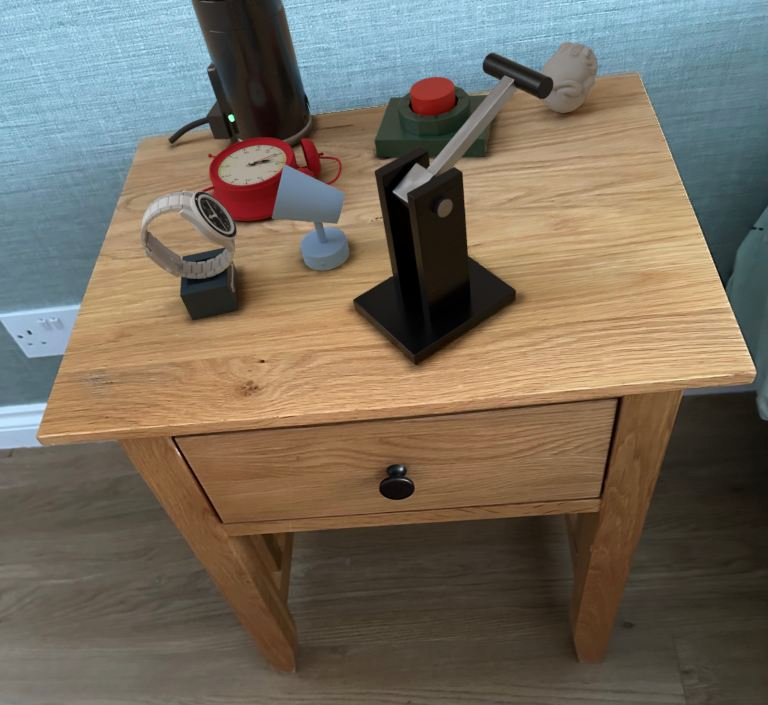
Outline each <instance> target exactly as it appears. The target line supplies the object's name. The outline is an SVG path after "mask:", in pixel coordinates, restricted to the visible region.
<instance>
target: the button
mask: <svg viewBox="0 0 768 705" xmlns="http://www.w3.org/2000/svg"><path fill="white" fill-rule="evenodd" d="M455 86H456V85H455V83H454V82H453V81H452V80H451V79H450V78H446V77H442V76H430V77H426V78H422V79H420V80H418V81H416V82H414V83H413V84H412V85H411V87H410V90H409V92H410V95H411V104H412V110H413V111H414V112H415V113H417V114H420V115H439V114H442V113H445V112H449V111H450V110H451V109H452V108H454V106H455V104H456V100H455Z"/></svg>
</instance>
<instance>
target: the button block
mask: <svg viewBox="0 0 768 705" xmlns="http://www.w3.org/2000/svg"><path fill="white" fill-rule="evenodd" d="M454 86H455V100H456V104H455V106H454V108H452V109H451V110H450V111H449V112H445V113H442V114H439V115H420V114H417V113H415V112H414V111H413V110H412V104H411V95H410V91H409V92H408V93H406V94H404V95H403V96H401V97H400V96H397V97H396V96H395V97H393V96H392V97H390V98H389V101H388V103H387V106H386V108H385V111H384V114H383V117H382V120H381V122H380V124H379V127H378V130H377V133H376V135H375V138H374V145H375V151H376V157H377V158H399V157H401V156H403V155H405V154H407V153H408V152H410V151H412V150H414V149H416V148H418V147H420V146H421V147H423V148H425V149H426V150H428V151H429V158H436V157H437V156H438V155H439V154H440V152H441V151H442V150H443V149H444V148H445V146H446V145H447V144H448V143H449V142H450V140H451V139H452V138H453V137H454V136H455V134H456V133H457V132H458V131H459V129H460V128H461V127H462V126H463V125H464V123H465V122H466V121H467V120H468V119H469V117H470V116H471V115H472V114H473V113H474V111H475V110H476V109H477V108H478V107H479V105H480V104H481V103H482V102H483V101H484V99H485V98H486V97H487V96H488V95H489V94H476V95H475V94H473V95H469V94H468V93H467V91H466V90H464V88H462V87H459V86H456V85H454ZM492 123H493V120H492V121H491V122H490V123H489V124H488V126H487V127H486V128H485V129H484V130H483V132H482V133H481V134H480V135H479V136H478V138H477V139H476V140H475V141H474V142H473V144H472V145H471V146H470V147H469V148H468V150H467V151H466V152H465V153H464V154H463V156H462V157H461V158H485V157H486V154H487V150H488V149H487V148H488V143H489V138H490V133H491V127H492Z"/></svg>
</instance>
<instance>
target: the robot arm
mask: <svg viewBox="0 0 768 705" xmlns="http://www.w3.org/2000/svg"><path fill="white" fill-rule="evenodd" d="M190 2H191V5H192V8H193V11H194V15H195V17H196V20H197V23H198V25H199V28H200V31H201V32H200V33H201V34H202V38H203V41H204V43H205V44H204V45H205V48H206V49H207V53H208V55H209V58H210V60H211V62H210V64H209V65H208V66H207V68H206V74H207V76H208V80H209V82H210V85H211V88H212V91H213V95H214V97H215V99H216V100H215V102H214V103H213V105H212V106H211V108H210V110H209V111H208V113H207V114H206V116H205V117H202V118H199V119H196V120H193V121H191V122H190V123H188V124H185V125H184V126H182V127H181V128H179V129H178V130H177V131H176V132H175V133H173V135H171V136H170V137H169V138H168V140H167V141H168V143H170V144H171V145H173V144H174V143H176V142H177V141H178V140H179V139H180V138H182V137H183V136H184V135H186V134H187V133H188V132H190V131H192V130H194V129H196V128H198V127H201V126H204V125H207V124H208V125H209V129H210V131H211V134H212V136H213V139H214V140H230V143H231V145H233V144H235V143H238V142H241V141H244V140H248V139H253V138H263V137H267V138H275V139H279V140H282V141H284V142H286V143H287V144H288V145H289V146H290V147H292V146H294V145H297V144H298V143H301V141H300V140H301V139H305V138H307V136H308V135H309V134H310V132H311V131H312V130H313V125H314V123H313V119H312V118H313V117H312V113H311V111H310V108H311V105H310V102H309V97H308V96H307V94H306V92H305V88H304V84H303V80H302V75H301V72H300V67H299V63H298V59H297V55H296V50H295V47H294V43H293V39H292V34H291V30H290V26H289V21H288V17H287V13H286V10H285V5H284V1H283V0H190Z"/></svg>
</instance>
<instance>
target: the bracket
mask: <svg viewBox="0 0 768 705" xmlns="http://www.w3.org/2000/svg"><path fill="white" fill-rule="evenodd" d="M430 162H431V161H430V157H429V151H428V150H426V149H425V148H423V147H421V146H420V147H418V148H416V149H414V150H412V151H410V152H408V153H407V154H405V155H403V156H401V157H396V158H395V159H394V160H392V161H390V162H388V163H386V164H384V165H383V166H381V167H379V168H377V169H375V170H374V171H373V172H374V176H375V182H376V183H375V184H376V189H377V194H378V199H379V205H380V211H381V216H382V222H383V228H384V233H385V240H386V245H387V250H388V257H389V262H390V268H391V274H392V275H391V276H390V277H388V278H387V279H384V280H383V281H381V282H380V283H378V284H376V285H375V286H373V287H371V288H370V289H368V290H366V291H364V292H363V293H361V294H359V295H357V297H354V298H353V299H352V302H353V307H354V310H355V311H356V312H358V314H360V315H361V316H362V317H363V318H364V319H365V320H366V321H367V322H368V323H369V324H371V325H372V326H373V328H375V329H376V330H377V331H378V332H379V333H380V334H381V335H382V336H384V338H386V339H387V340H388V341H389V342H390V343H391V344H392V345H393V346H394V347H395V348H396V349H397V350H398V351H399V352H400V353H401V354H402V355H404V356H405V357H406V358H407V359H408V360H409V361H410V362H411V363H412V364H413V365H414V366H417V365H419V364H420V363H422V362H423V361H425V360H426V359H428V358H430V357H431V356H432V355H434V354H436V353H437V352H439V351H440V350H441V349H443V348H445V347H446V346H447V345H449V344H450V343H452V342H454V341H455V340H457V339H458V338H460V337H462V336H463V335H465V334H466V333H468V332H469V331H470V330H472V329H474V328H475V327H477V326H478V325H480V324H481V323H483V322H484V321H486V320H487V319H489V318H490V317H492V316H493V315H495V314H497V313H498V312H499V311H501V310H503V309H504V308H506V307H507V306H509V305H510V304H511V303H513V302H515V301H516V300H517V291H516V290H517V289H515V288H514V287H512V286H511V285H509V283H507V282H505V281H504V280H503V279H502V278H500V277H499V276H497V275H496V274H494V273H493V272H491V271H490V270H488V268H486V267H485V266H484V265H482V264H480V263H479V262H477V261H476V260H475V259H474V258H472V257H471V256H470V255H469V250H468V249H469V247H468V234H467V233H468V232H467V219H466V205H465V202H466V201H465V188H464V187H465V186H464V173H463V171H461V169H458V168H457V167H456V166H453V168H451V169H449V170H448V171H446V172H444V173H442V174H440V175H439V176H437V177H435V178H433V179H431V180H430V181H428V182H426V183H424V184H422V185H421V186H419V187H417V188H415V189H413V190H412V191H410V192H408V193H407V199H408V206H409V209H408V208H407V207H406V206H405V205H404V204H403V203H402V202H401V201H400V200H399V199H398V197H397V196H396V195H395V194H394V193H393V190H394V189H395V188H396V187H397V185H398V184H399V183H400V182H401V181H402V179H403V178H404V177H405V176H406V174H407V173H408V172H409V171H410V170H411V168H412V167H413V166H414V165H415V164H416V163H418V164H419V165H421V166H422V167H424V168H425V169H427V168H428V167H429V166H430V164H431V163H430Z"/></svg>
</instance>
